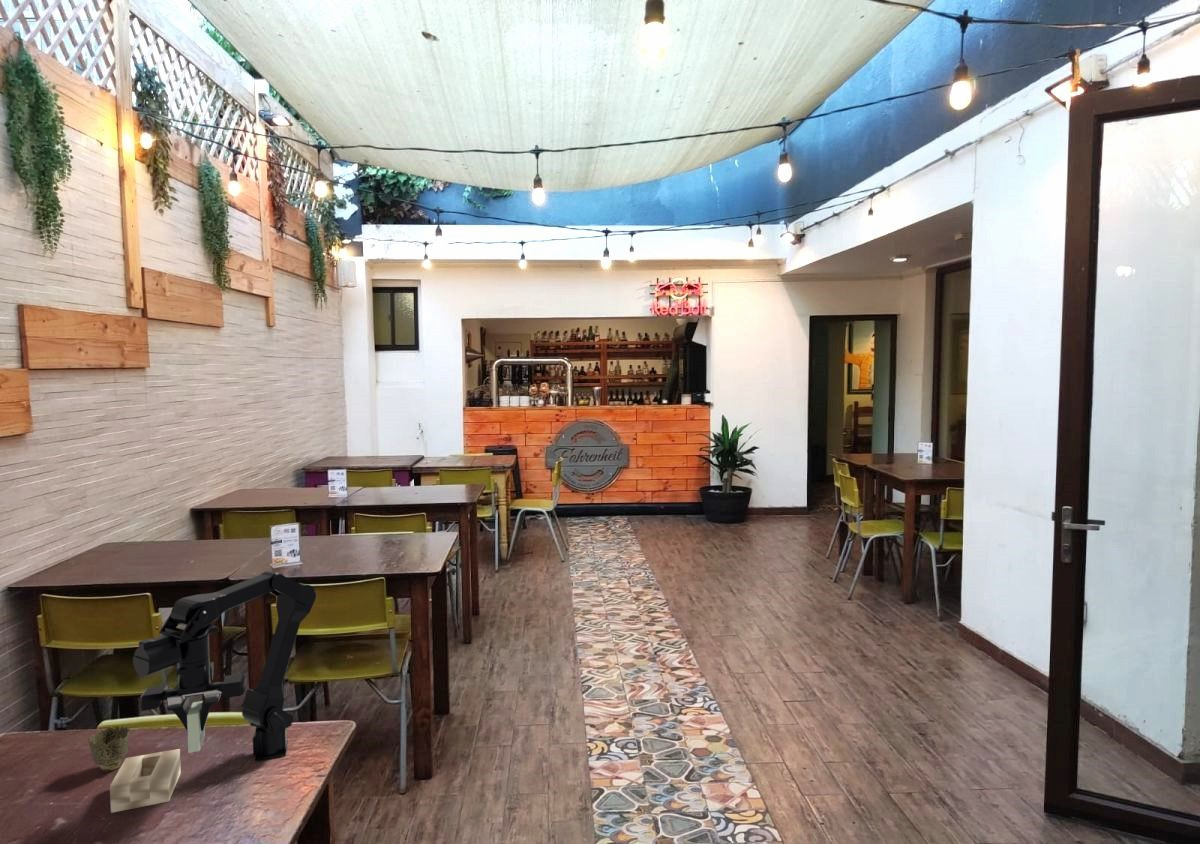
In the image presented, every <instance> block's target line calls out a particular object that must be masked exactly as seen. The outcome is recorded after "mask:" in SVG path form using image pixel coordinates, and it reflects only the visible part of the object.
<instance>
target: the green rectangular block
mask: <svg viewBox="0 0 1200 844" xmlns="http://www.w3.org/2000/svg"><path fill="white" fill-rule="evenodd" d="M202 702H203V700H201V701H193V702H192V703H191V706H190V707H189V712H188V714H187V728H188V732H187V747H188V748H187V749H188V754H190V753H196V752H197V753H198V752H200V751H201V748H202V746H203V743H204V740H205V739H206V730H205V729H206V726H205V727H204V730H203V731H201V709H202Z"/></svg>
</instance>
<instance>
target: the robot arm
mask: <svg viewBox="0 0 1200 844" xmlns="http://www.w3.org/2000/svg"><path fill="white" fill-rule="evenodd" d="M269 593H270V594H271V595H273V596H275V597H277V598H276V599H277V600H276V606H275V607H276V613H277V617H278V618H277V619H278V621H277V624H276V627H275V630H274V633H273V637H272V640H271V643H270V647H269V651H268V653H267V656H266V660H265V663H264V667H263V669H262V673H261V676H260V679H259V682H258V683H257V685H255V686H254V688H253V689H250V688H248V689H247V690H246V687H247V675H246V674H245V673H244V672H242V673H237V674H229V675H225V676H224V680H223V681H217V682H212V681H213V680H214V669H215V668H214V666H215V665H214V661H211V659H210V658H211V657H210V635H211V634H214V633H217V632H219V631H220V628H219V627H217V626H215V625H214V624H213V623H214V622H215V621H216V620H218V619H219V618H220V616H222V615H223V613H225V612H227V611H229V610H230V609H233V608H235V607H238V606H240V605H243V604H245V603H247V602H249V601H252V600H255V599H257V598H259V597H261V596H264V595H266V594H269ZM316 597H317V591H316V590H315V588H314V586H312V585H310V584H306V583H301V582H297V581H295V580H293V579H291V578H289V577H286V576H285V575H283V573H280V572H276V571H270V570H268V571H267V570H266V571H264V572H262V573H261V574H258V575H256V576H254V577H252V578H249V579H245V580H244V581H241V582H238V583H236V584H233V585H231V586H227V587H225V588H223V589H221V590H218V591H215V592H210V593H200V594H195V595H194V594H193V595H189V596H185V597H184V596H183V597H181V598H180V599H178V600H176V601H175V602H174V605H173V607H172V608H171V611H170V614H169V615H168V617H167V619H166V621H165V622H164V623H163V625H162V627H161V629H160V630H159V632H158V634H159V636H156V637H153V638H149V639H144V640H140V641H138V648H137V649H135V651H134V653H133V654H134V655H133V656H132V664H133V668H134V670H135V672H136V673H137V675H138V676H139V677H141V678H144V677H147V676H151V675H153V674H156V673H158V672H162V671H165V670H167V669H170V668H174V667H175V677H176V678H177V679H178V680H177V681H178V682H177V683H178V688H172V689H170V688H169V686H168V684H167V683H166V684H160V685H153V686H147V688H146V689H145V690H144V691H143V692H142V693H141V695H140V697H139V701H138V707H139V708H138V709H139V710H138V711H141V712H143V711H144V712H145V711H151V710H156V709H158V708H159V707H160V706H161V705H162V703H163V701H167V707H166V711H167V712H168V711H169V712H170V711H172V712H173V713H174V715H175V716H177V717H178V719H179V720H180V722H181V723H182V725H183V727H184V728H185V730H186V732H187V733H188V728H187V714H188V712H189V710H190V706H189V704H190V703H189V700H190V697H194V696H195V697H196V696H202V695H203V696H204V698H203V700H202V701H203V702H202V709H201V731H203V730H204V727H205V728H206V724H207V721H208V717H209V714H210V711H211V708H212V706H213V705H215V704H217V703H219V700H220V699H221V696H223V697H224V698H226V699H229V698H235V697H241V696H243V695H245V697H244V700H243V702H242V704H241V706H240V708H241V709H242V712H241V716H242V718H243V719H244V721H246V722H248V723H249V726H250V727H254V728H255V731H254V732H253V734H252V735H253V736H252V752H253V754H252V755H254V761H255V762H256V761H262V760H263V761H264V760H267V759H273V758H279V757H284V756H286V755H287V751H288V746H289V745H288V744H289V741H288V739H287V735H288V734H287V729H288V728H289V727H291V726H292V724H293V720H294V716H293V715H292V714H290V713H289V712H287V711H285V710H284V706H285V705H284V704H285V695H284V690H283V682H284V679H285V676H286V673H287V670H288V666H289V663H290V659H291V656H292V652H293V649H294V647H295V642H296V638H297V635H298V632H299V628H300V626H301V623H302V622H303V620H304V619H305V618H307V616H308V615H309V614H310V613H311V611H312V609H313V606H314V603H315V601H316V599H317V598H316ZM179 626H182V627H184V629H183V628H179ZM245 690H246V692H245Z"/></svg>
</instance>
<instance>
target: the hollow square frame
mask: <svg viewBox="0 0 1200 844" xmlns="http://www.w3.org/2000/svg"><path fill="white" fill-rule="evenodd" d="M181 766H182V765H181V749H180V748H177V749H171V750H163V751H159V752H153V753H148V754H142V755H136V756H131V757H129V756H128V757H126V758H125V759H124V761H123V762H122V763H121V765H120V767H119V770H118V771H117V773H116V775H115V777H114V778H113V780H112V781H111V783H110V786H109V797H110V798H109V799H110V800H109V801H110V813H111V814H114V813H118V812H123V811H126V810H132V809H138V808H143V807H147V806H153V805H158V804H162V803H167V802H170V800H171V797H172V796H173V795H172V794H173V792H174V791H175V789H176V785H177V783H178V780H179V778H180V776H181V773H182V771H181V770H182V769H181V768H182V767H181Z"/></svg>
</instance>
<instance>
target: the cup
mask: <svg viewBox="0 0 1200 844" xmlns="http://www.w3.org/2000/svg"><path fill="white" fill-rule="evenodd" d="M130 729H131V728H130V727H129V728H128V726H126V725H125V726H124V725H122V726H121V727H119V725H116V726H115V727H114V728H113V727H111V726H109V727H107V728H105V729H104V730H103V729H99V731H98V734H97V735H94V734H91V735H90V737H89V738H88V743H89V748H90V749H89V750H90V754H91V757H92V760H93V762H94V763H95V764H97V765H98V766H100V770H101V771H102V772H112V771H114V770H116V769H118V768H120V767H121V765H122V759H124V757H125V756H126V755H127V753H128V749H129V743H130V733H131V731H130Z"/></svg>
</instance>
